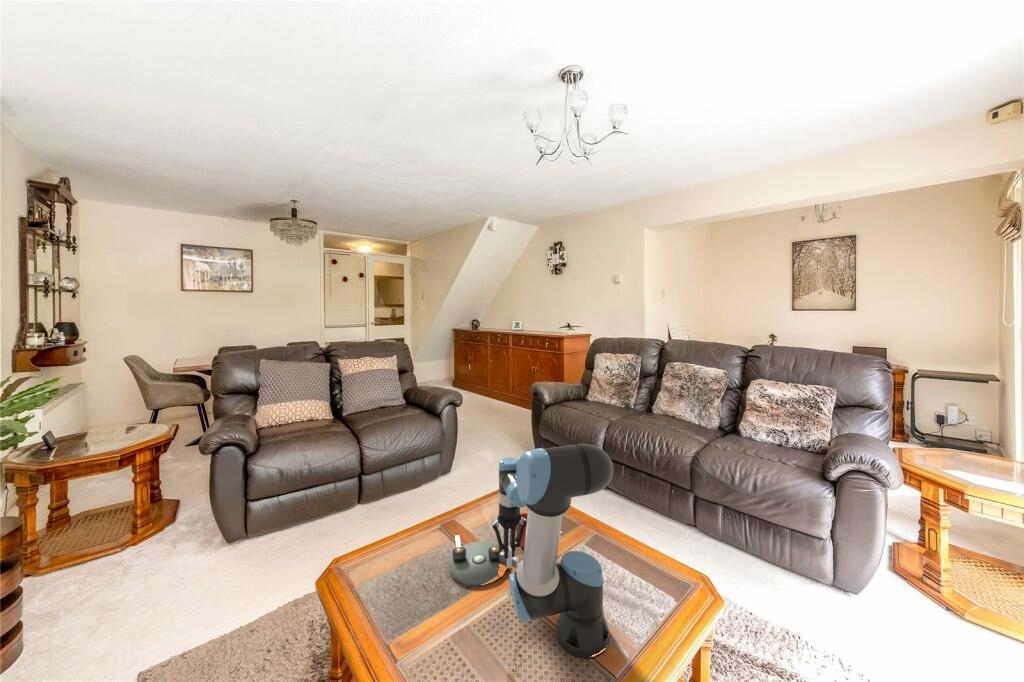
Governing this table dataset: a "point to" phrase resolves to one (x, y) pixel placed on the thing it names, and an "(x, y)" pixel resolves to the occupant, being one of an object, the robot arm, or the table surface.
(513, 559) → the knob right
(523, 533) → the flower pot
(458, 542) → the knob left
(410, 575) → the table surface
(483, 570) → the plate
